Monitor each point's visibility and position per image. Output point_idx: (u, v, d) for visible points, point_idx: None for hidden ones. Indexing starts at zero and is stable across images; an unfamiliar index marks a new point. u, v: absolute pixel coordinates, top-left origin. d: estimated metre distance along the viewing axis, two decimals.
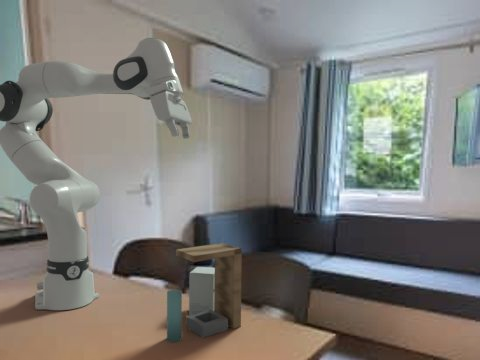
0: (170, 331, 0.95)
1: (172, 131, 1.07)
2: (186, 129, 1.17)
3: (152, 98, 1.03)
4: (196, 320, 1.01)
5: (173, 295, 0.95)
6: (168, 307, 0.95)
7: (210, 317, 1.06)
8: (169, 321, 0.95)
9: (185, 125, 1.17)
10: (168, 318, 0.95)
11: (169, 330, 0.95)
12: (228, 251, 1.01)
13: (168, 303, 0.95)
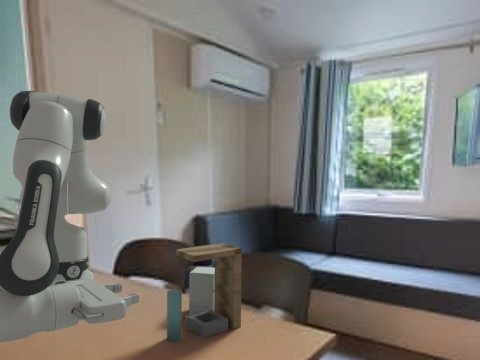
0: (170, 331, 0.95)
1: None
2: None
3: None
4: (196, 320, 1.01)
5: (173, 295, 0.95)
6: (168, 307, 0.95)
7: (210, 317, 1.06)
8: (169, 321, 0.95)
9: None
10: (168, 318, 0.95)
11: (169, 330, 0.95)
12: (228, 251, 1.01)
13: (168, 303, 0.95)
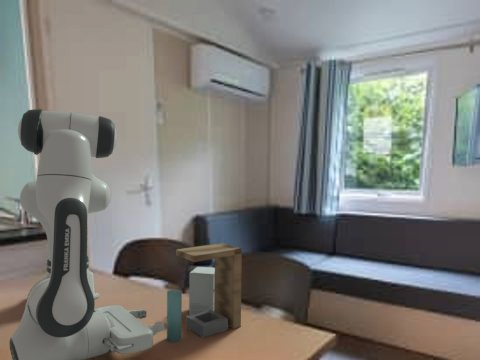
0: (170, 331, 0.95)
1: None
2: None
3: None
4: (196, 320, 1.01)
5: (173, 295, 0.95)
6: (168, 307, 0.95)
7: (210, 317, 1.06)
8: (169, 321, 0.95)
9: None
10: (168, 318, 0.95)
11: (169, 330, 0.95)
12: (228, 251, 1.01)
13: (168, 303, 0.95)
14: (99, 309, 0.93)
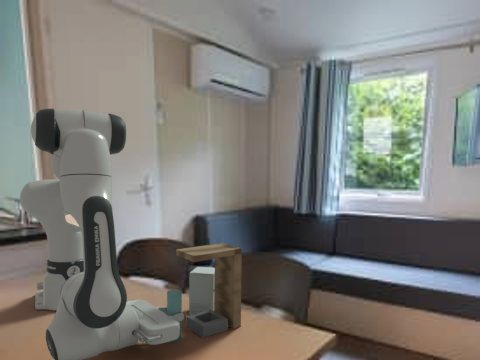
0: None
1: None
2: None
3: None
4: (196, 320, 1.01)
5: (173, 295, 0.95)
6: (168, 307, 0.95)
7: (210, 317, 1.06)
8: None
9: None
10: None
11: None
12: (228, 251, 1.01)
13: (168, 303, 0.95)
14: None
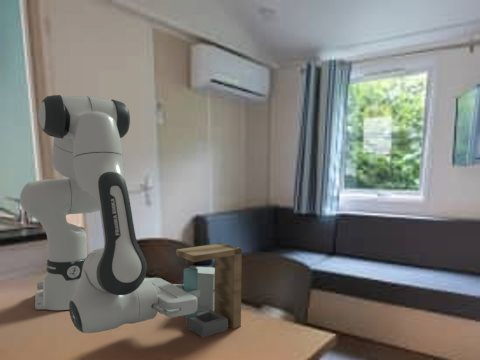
0: None
1: None
2: None
3: None
4: (196, 320, 1.01)
5: (190, 272, 0.97)
6: (185, 284, 0.98)
7: (210, 317, 1.06)
8: None
9: None
10: None
11: None
12: (228, 251, 1.01)
13: (185, 280, 0.98)
14: (143, 280, 0.99)
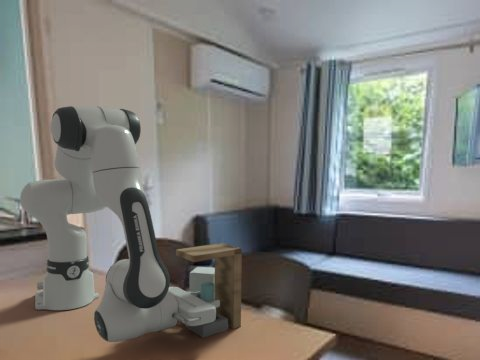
0: None
1: None
2: None
3: None
4: None
5: (207, 287, 1.01)
6: (202, 298, 1.02)
7: None
8: None
9: None
10: None
11: None
12: (228, 251, 1.01)
13: (202, 295, 1.01)
14: None
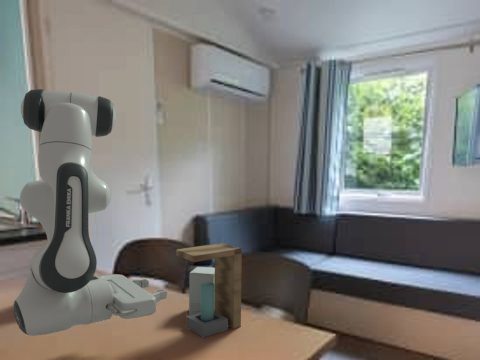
0: (204, 321, 1.01)
1: None
2: None
3: None
4: (196, 320, 1.01)
5: (207, 287, 1.01)
6: (202, 299, 1.02)
7: None
8: (203, 311, 1.01)
9: None
10: (202, 309, 1.02)
11: (202, 320, 1.02)
12: (228, 251, 1.01)
13: (202, 295, 1.01)
14: (102, 277, 0.93)
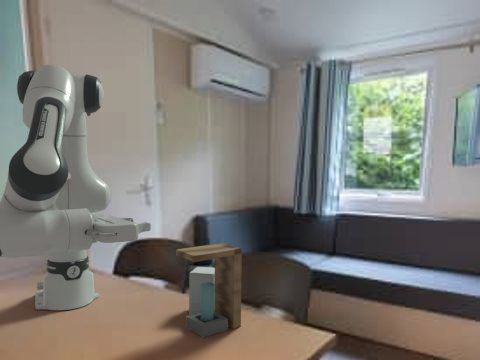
0: (204, 321, 1.01)
1: None
2: None
3: None
4: (196, 320, 1.01)
5: (207, 287, 1.01)
6: (202, 299, 1.02)
7: None
8: (203, 311, 1.01)
9: None
10: (202, 309, 1.02)
11: (202, 320, 1.02)
12: (228, 251, 1.01)
13: (202, 295, 1.01)
14: None
